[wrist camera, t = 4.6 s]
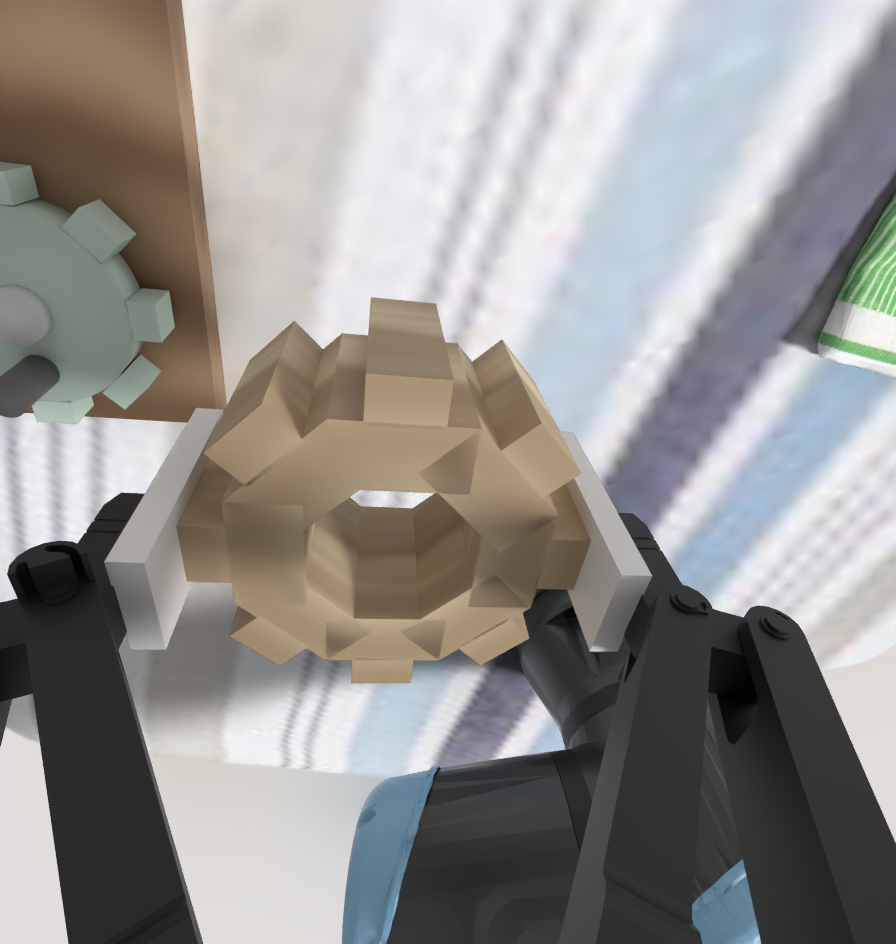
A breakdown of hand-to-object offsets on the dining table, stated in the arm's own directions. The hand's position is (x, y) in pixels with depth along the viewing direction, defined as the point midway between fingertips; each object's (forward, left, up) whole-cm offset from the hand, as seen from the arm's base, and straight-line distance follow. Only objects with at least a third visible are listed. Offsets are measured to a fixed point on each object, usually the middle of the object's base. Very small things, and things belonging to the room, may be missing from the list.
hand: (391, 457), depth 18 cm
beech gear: (0, 0, 0) cm, 0 cm away
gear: (0, +16, -13) cm, 21 cm away
